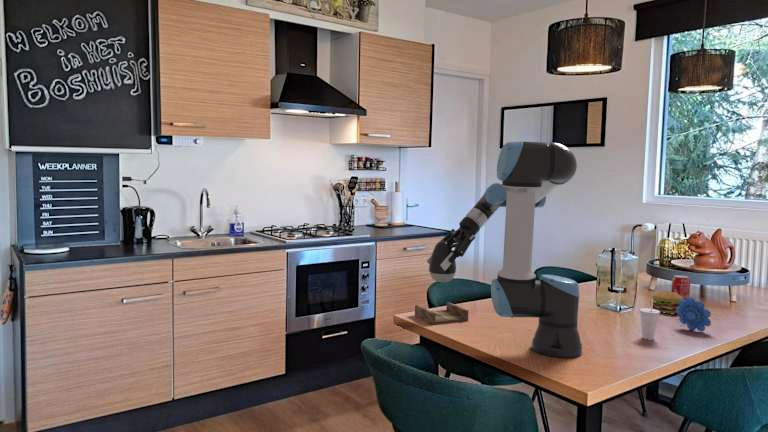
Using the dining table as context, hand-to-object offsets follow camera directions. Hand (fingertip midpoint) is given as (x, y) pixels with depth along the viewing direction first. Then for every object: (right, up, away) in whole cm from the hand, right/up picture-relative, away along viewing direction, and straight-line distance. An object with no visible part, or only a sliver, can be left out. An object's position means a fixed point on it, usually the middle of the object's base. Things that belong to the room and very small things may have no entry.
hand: (435, 265), depth 211 cm
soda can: (+110, -20, +37) cm, 118 cm away
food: (+98, -21, +22) cm, 103 cm away
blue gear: (+91, -23, -7) cm, 95 cm away
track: (+2, -20, +3) cm, 20 cm away
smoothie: (+71, -23, -17) cm, 77 cm away
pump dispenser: (+3, -6, +2) cm, 7 cm away
